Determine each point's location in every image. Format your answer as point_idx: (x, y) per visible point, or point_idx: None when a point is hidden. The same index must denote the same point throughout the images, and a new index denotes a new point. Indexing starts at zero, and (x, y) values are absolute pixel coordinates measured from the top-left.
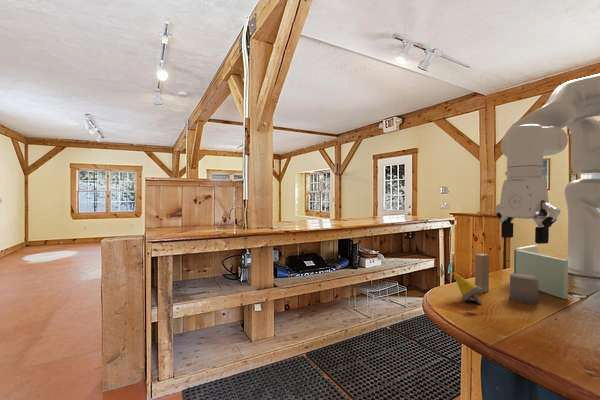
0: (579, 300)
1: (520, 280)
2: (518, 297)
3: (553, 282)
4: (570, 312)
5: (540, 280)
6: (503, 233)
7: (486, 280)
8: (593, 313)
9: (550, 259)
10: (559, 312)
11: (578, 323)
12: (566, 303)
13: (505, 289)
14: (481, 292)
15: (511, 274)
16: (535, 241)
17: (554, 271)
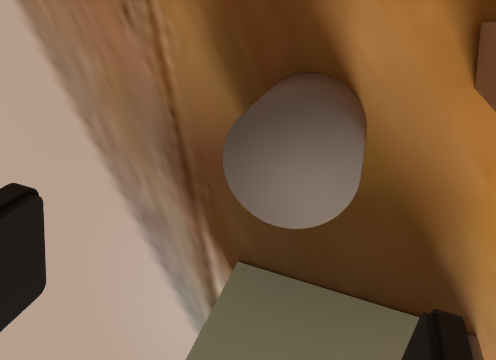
0: (213, 292)
1: (270, 98)
2: (298, 77)
3: (266, 309)
4: (151, 136)
5: (329, 323)
6: (438, 346)
7: (491, 78)
8: (123, 193)
9: None
10: (163, 100)
11: (79, 46)
12: (211, 224)
13: (441, 199)
14: (485, 22)
15: (358, 159)
16: (24, 191)
17: (247, 344)
